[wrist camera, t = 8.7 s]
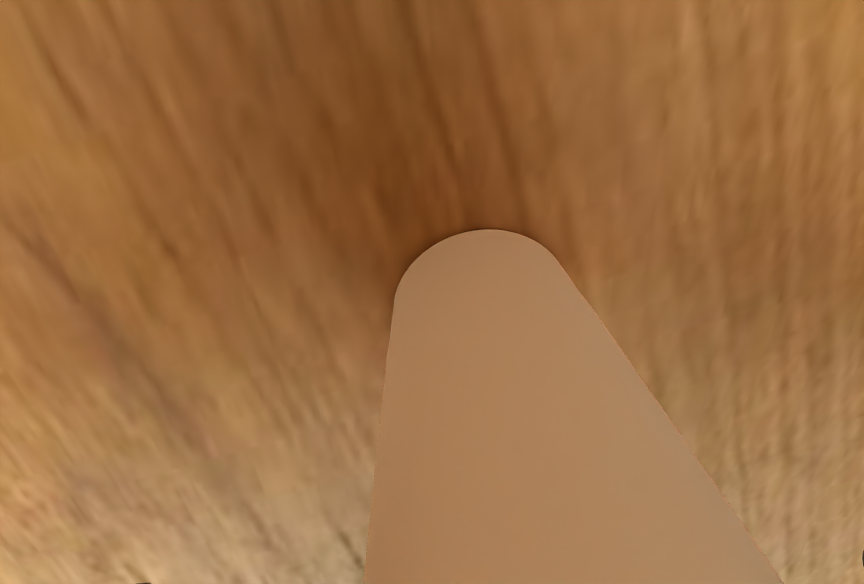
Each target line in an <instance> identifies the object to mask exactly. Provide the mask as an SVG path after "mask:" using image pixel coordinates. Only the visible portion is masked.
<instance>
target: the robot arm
mask: <svg viewBox="0 0 864 584" xmlns="http://www.w3.org/2000/svg"><path fill="white" fill-rule="evenodd" d="M862 559H863V566H864V551H863V557H862ZM138 584H151V583H138Z"/></svg>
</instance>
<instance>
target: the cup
mask: <svg viewBox="0 0 864 584" xmlns="http://www.w3.org/2000/svg"><path fill="white" fill-rule="evenodd" d="M363 584H784V583H783V582H782V580H781V579H780V577H779V576H778V574H777V573H776V571H775V570H774V569H773V567H772V566H771V564H770V563H769V561H768V560H767V558H766V557H765V555H764V554H763V552H762V551H761V550H760V548H759V547H758V545H757V544H756V542H755V541H754V539H753V538H752V536H751V535H750V534H749V532H748V531H747V529H746V528H745V526H744V525H743V523H742V522H741V521H740V519H739V518H738V516H737V515H736V513H735V512H734V510H733V509H732V508H731V506H730V505H729V503H728V502H727V500H726V499H725V498H724V496H723V495H722V493H721V492H720V490H719V489H718V487H717V486H716V485H715V483H714V482H713V480H712V479H711V477H710V476H709V474H708V473H707V472H706V470H705V469H704V467H703V466H702V464H701V463H700V462H699V460H698V459H697V457H696V456H695V454H694V453H693V451H692V450H691V449H690V447H689V446H688V444H687V443H686V441H685V440H684V439H683V437H682V436H681V434H680V433H679V431H678V430H677V429H676V427H675V426H674V424H673V423H672V421H671V420H670V418H669V417H668V416H667V414H666V413H665V411H664V410H663V408H662V407H661V406H660V404H659V403H658V401H657V400H656V398H655V397H654V396H653V394H652V393H651V391H650V390H649V388H648V387H647V386H646V384H645V383H644V381H643V380H642V378H641V377H640V376H639V374H638V373H637V371H636V370H635V368H634V367H633V366H632V364H631V363H630V361H629V360H628V358H627V357H626V355H625V354H624V353H623V351H622V350H621V348H620V347H619V345H618V344H617V343H616V341H615V340H614V338H613V337H612V335H611V334H610V333H609V331H608V330H607V328H606V327H605V325H604V324H603V323H602V321H601V320H600V318H599V317H598V316H597V314H596V313H595V311H594V310H593V308H592V307H591V306H590V304H589V303H588V302H587V301H586V299H585V298H584V297H583V296H582V294H581V293H580V291H579V290H578V289H577V287H576V286H575V284H574V283H573V281H572V280H571V279H570V277H569V276H568V274H567V273H566V272H565V270H564V269H563V268H562V266H561V265H560V263H559V262H558V260H557V259H556V258H555V257H554V256H553V254H552V253H551V252H550V251H548V250H547V249H546V248H545V247H544V246H542V245H541V244H539V243H538V242H536V241H534V240H532V239H530V238H528V237H526V236H523V235H521V234H518V233H514V232H509V231H504V230H491V229H486V230H475V231H469V232H464V233H461V234H457V235H454V236H451V237H449V238H447V239H444V240H442V241H440V242H439V243H437V244H435V245H433V246H432V247H430V248H429V249H427V250H426V251H425V252H424V253H422V254H421V255H420V256H419V257H418V258H417V259H416V260H415V261H414V262H413V263H412V264H411V265H410V267H409V268H408V269H407V271H406V272H405V274H404V275H403V277H402V279H401V281H400V283H399V285H398V288H397V291H396V294H395V299H394V307H393V314H392V323H391V332H390V342H389V348H388V353H387V361H386V371H385V380H384V389H383V399H382V408H381V418H380V427H379V437H378V446H377V456H376V465H375V475H374V484H373V494H372V503H371V513H370V523H369V532H368V542H367V552H366V561H365V571H364V581H363Z"/></svg>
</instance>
